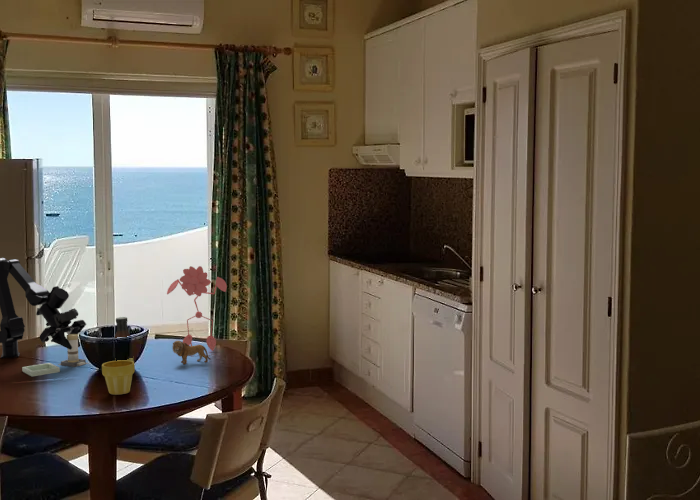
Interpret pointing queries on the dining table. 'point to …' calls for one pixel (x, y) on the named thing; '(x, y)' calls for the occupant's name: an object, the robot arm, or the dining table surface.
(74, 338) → the beige round cylinder
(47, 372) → the parts tray
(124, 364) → the plant pot
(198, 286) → the figurine
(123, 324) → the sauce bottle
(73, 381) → the dining table surface
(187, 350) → the lion figurine
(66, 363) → the fuse block
